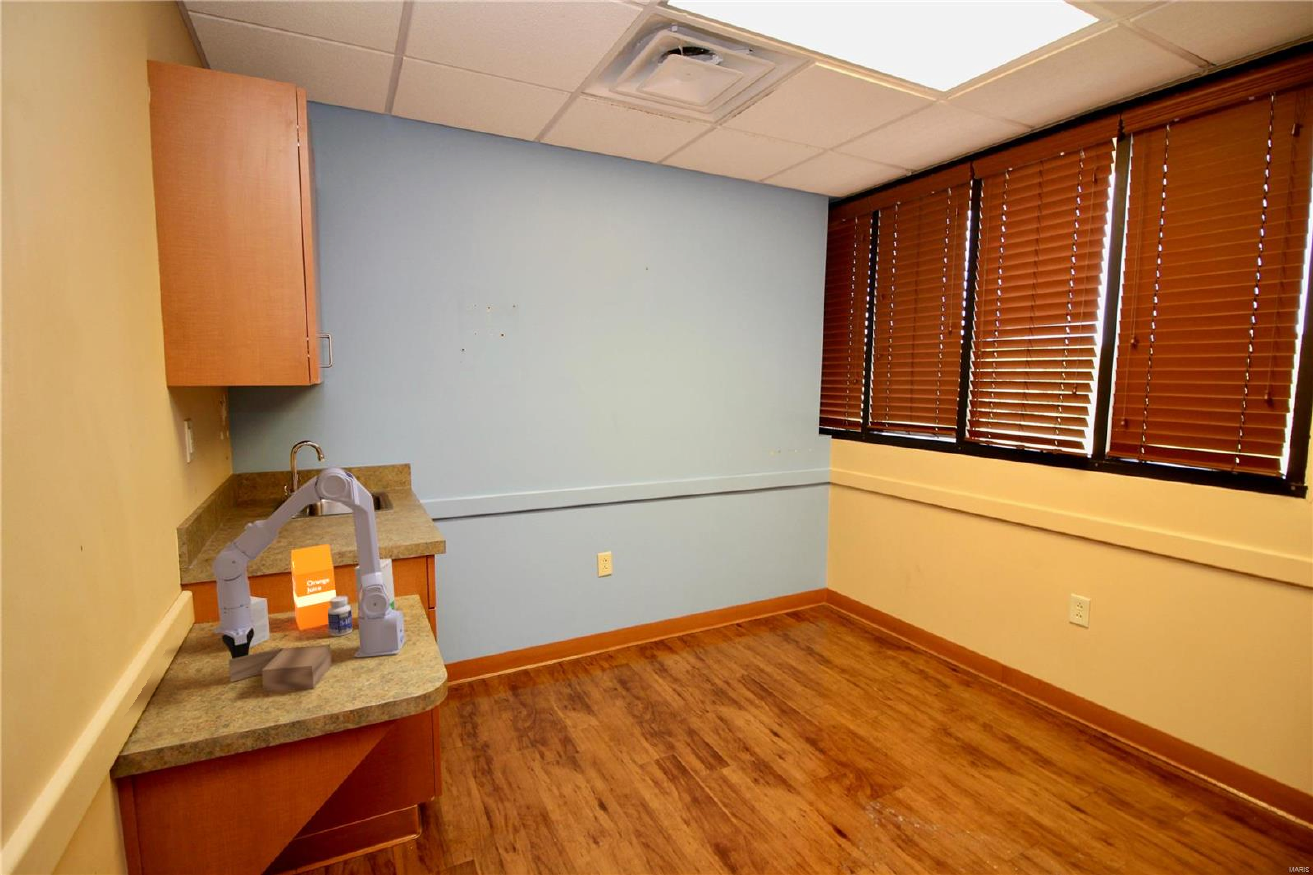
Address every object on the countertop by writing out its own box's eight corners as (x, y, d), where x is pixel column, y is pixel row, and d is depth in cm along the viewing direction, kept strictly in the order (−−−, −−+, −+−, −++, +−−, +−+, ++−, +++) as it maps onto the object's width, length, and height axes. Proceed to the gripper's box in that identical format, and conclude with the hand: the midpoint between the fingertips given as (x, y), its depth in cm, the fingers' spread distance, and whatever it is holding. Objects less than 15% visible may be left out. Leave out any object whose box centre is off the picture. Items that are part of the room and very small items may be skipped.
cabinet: (331, 666, 138) (329, 644, 137) (313, 688, 128) (311, 665, 127) (285, 670, 136) (283, 648, 136) (263, 693, 126) (261, 670, 126)
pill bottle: (343, 637, 153) (340, 602, 152) (324, 636, 154) (321, 601, 153) (357, 628, 158) (354, 595, 157) (339, 627, 159) (336, 594, 158)
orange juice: (295, 620, 164) (289, 547, 162) (332, 612, 169) (326, 541, 167) (299, 630, 158) (293, 553, 155) (338, 621, 163) (332, 547, 161)
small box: (226, 643, 151) (221, 602, 150) (248, 634, 156) (244, 594, 155) (248, 648, 148) (244, 606, 146) (270, 639, 153) (266, 597, 152)
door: (285, 667, 137) (284, 647, 136) (230, 681, 131) (228, 661, 130) (285, 665, 138) (283, 646, 137) (230, 679, 132) (228, 659, 131)
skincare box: (382, 627, 158) (378, 568, 157) (357, 627, 159) (352, 568, 157) (396, 614, 167) (392, 558, 165) (372, 614, 167) (368, 558, 165)
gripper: (209, 599, 135) (216, 658, 136) (214, 619, 124) (220, 684, 125) (248, 591, 139) (254, 649, 141) (255, 610, 128) (262, 673, 129)
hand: (241, 665), depth 133 cm, fingers closed, pressing on door
